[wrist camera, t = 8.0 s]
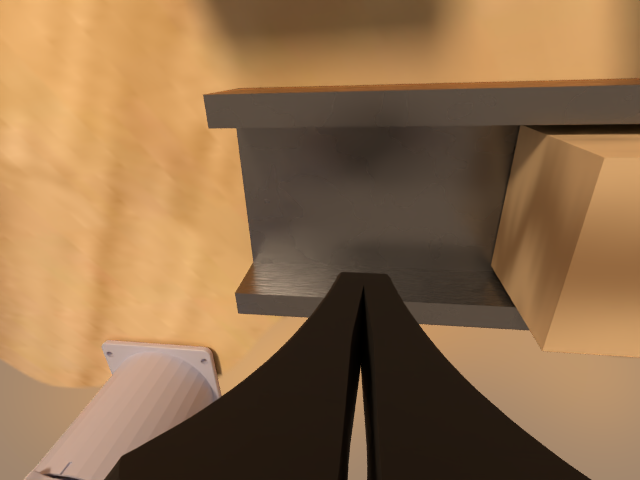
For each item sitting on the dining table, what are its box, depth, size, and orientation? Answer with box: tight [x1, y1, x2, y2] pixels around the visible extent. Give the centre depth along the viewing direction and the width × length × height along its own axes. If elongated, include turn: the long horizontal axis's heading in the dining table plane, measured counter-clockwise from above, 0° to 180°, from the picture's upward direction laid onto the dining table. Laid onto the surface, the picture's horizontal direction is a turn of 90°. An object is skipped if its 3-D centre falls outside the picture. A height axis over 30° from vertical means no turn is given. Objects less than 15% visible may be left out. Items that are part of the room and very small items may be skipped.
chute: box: [203, 78, 640, 330], centre depth 16 cm, size 10×20×4 cm, turn 91°
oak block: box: [491, 124, 640, 357], centre depth 13 cm, size 7×6×6 cm
